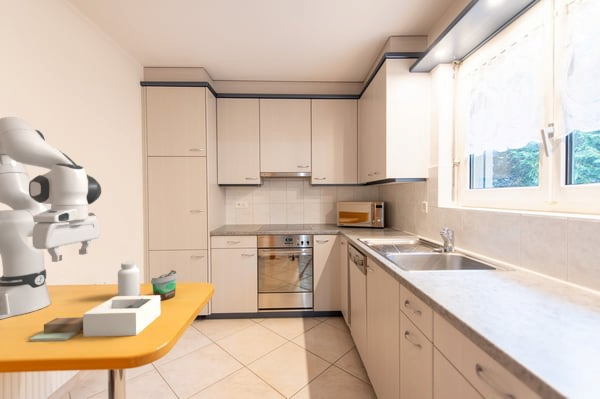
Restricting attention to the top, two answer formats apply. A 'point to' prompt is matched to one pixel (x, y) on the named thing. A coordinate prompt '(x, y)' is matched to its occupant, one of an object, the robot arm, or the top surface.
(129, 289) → the pill bottle
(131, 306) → the cradle
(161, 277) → the food container
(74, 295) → the top surface
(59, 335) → the sage pad
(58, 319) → the walnut slab
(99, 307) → the pocket jig
